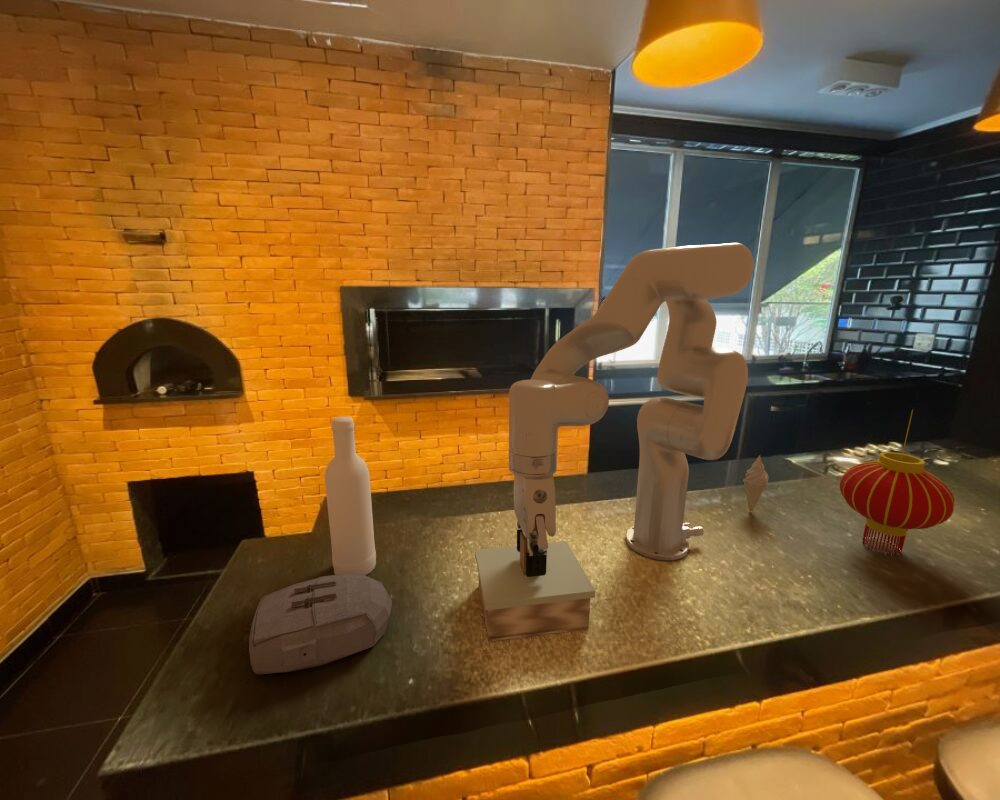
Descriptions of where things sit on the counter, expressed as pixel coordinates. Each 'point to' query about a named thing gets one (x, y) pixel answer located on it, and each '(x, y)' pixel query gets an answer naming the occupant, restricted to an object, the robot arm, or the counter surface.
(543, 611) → the storage box
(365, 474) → the bottle
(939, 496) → the lantern
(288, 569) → the counter surface
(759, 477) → the ice cream cone
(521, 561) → the lid
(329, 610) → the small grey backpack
